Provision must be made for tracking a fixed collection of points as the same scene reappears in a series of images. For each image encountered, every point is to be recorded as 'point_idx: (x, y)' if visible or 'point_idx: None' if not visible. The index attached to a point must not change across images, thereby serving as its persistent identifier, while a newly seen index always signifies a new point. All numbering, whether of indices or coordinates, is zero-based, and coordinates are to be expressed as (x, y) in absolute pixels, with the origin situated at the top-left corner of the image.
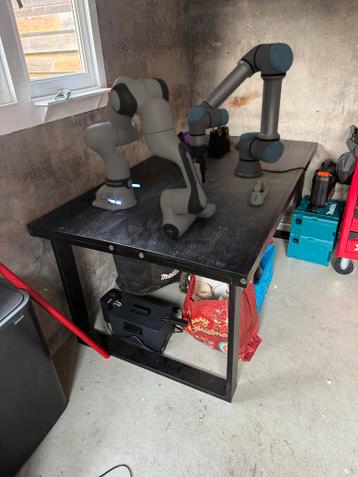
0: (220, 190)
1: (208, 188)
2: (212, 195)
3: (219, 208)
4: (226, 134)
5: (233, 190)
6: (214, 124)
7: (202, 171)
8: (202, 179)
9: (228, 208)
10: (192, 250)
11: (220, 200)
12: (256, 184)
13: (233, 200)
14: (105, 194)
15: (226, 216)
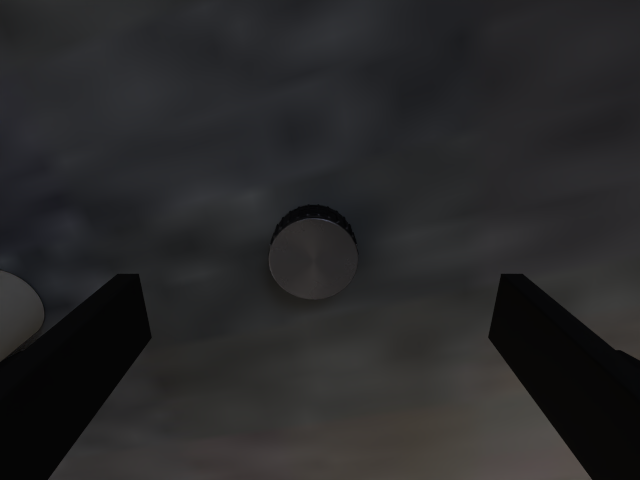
0: (513, 374)
1: (571, 274)
2: (398, 337)
3: (162, 421)
4: None
5: (509, 451)
6: None
7: (625, 473)
8: (521, 342)
9: (183, 465)
10: None
11: (305, 405)
12: None
13: (322, 472)
14: None
15: (61, 471)
